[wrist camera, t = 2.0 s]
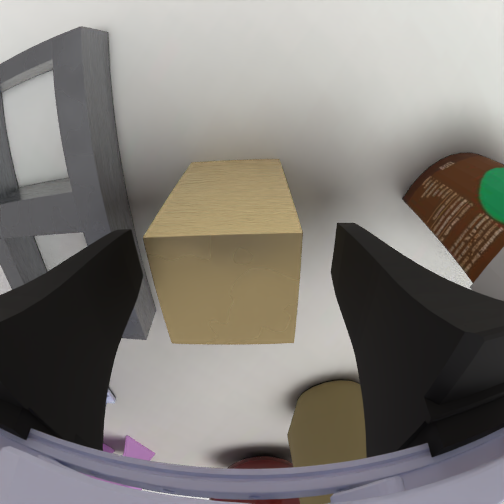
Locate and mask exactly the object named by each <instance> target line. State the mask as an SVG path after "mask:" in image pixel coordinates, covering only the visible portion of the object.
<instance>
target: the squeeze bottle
mask: <svg viewBox="0 0 504 504" xmlns="http://www.w3.org/2000/svg"><path fill="white" fill-rule="evenodd" d="M288 442H289V447H290V452H291V458H292V463H293V467H305V466H315V465H324V464H332V463H339V462H346V461H352V460H358V459H363V458H366V431H365V419H364V409H363V400H362V392H361V385H360V384H358V383H355V382H353V381H344V380H338V381H332V382H325V383H323V384H320V385H317V386H314V387H312V388H310V389H309V390H307V391H305V392H304V393H302V395H301V396H300V397H299V399H298V400H297V404H296V407H295V411H294V414H293V418H292V421H291V425H290V428H289V431H288ZM332 495H333V494H328V495H320V496H311V497H301V498H299V501H300V504H328V503H330V502H331V500H330V497H331V496H332Z"/></svg>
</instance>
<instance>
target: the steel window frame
mask: <svg viewBox="0 0 504 504" xmlns="http://www.w3.org/2000/svg"><path fill="white" fill-rule="evenodd" d="M50 70H53V75H54V87H55V97H56V106H57V114H58V121H59V127H60V134H61V140H62V145H63V151H64V156H65V161H66V166H67V171H68V175H69V178H65V179H59V180H54V181H49V182H44V183H39V184H34V185H29V186H24V187H20V188H18V184H17V181H16V177H15V172H14V168H13V164H12V159H11V155H10V150H9V144H8V139H7V133H6V127H5V120H4V113H3V105H2V96H1V93H2V92H4V91H6V90H8V89H10V88H12V87H14V86H16V85H18V84H20V83H22V82H24V81H26V80H29V79H31V78H33V77H35V76H38V75H40V74H43V73H45V72H48V71H50ZM122 229H131V230H132V234H133V238H134V242H135V246H136V250H137V254H138V258H139V261H140V265H141V269H142V272H143V279H142V283H141V287H140V291H139V295H138V298H137V301H136V303H135V306H134V308H133V311H132V313H131V316H130V318H129V321H128V323H127V325H126V328H125V330H124V333H123V335H122V338H127V339H142V340H146V339H147V336H148V333H149V330H150V327H151V324H152V321H153V318H154V315H155V312H156V309H155V305H154V302H153V299H152V295H151V292H150V288H149V285H148V281H147V278H146V274H145V270H144V267H143V263H142V259H141V255H140V251H139V247H138V243H137V239H136V235H135V230H134V226H133V222H132V217H131V212H130V208H129V203H128V198H127V193H126V188H125V182H124V177H123V171H122V166H121V160H120V153H119V147H118V140H117V133H116V126H115V118H114V109H113V100H112V90H111V79H110V65H109V46H108V32H105V31H101V30H96V29H92V28H87V27H82V26H81V27H78V28H76V29H73V30H70V31H68V32H65V33H63V34H60V35H58V36H56V37H53V38H51V39H49V40H47V41H44V42H42V43H40V44H38V45H36V46H34V47H32V48H30V49H28V50H26V51H24V52H22V53H20V54H18V55H16V56H14V57H12V58H11V59H9V60H7V61H5V62H3V63H2V64H0V264H1V267H2V269H3V271H4V273H5V275H6V278H7V280H8V282H9V284H10V286H11V288H12V290H13V289H15V288H17V287H19V286H22V285H24V284H26V283H28V282H30V281H32V280H34V279H35V278H37V277H39V276H41V275H43V274H44V273H46V272H47V270H46V268H45V265H44V263H43V260H42V258H41V255H40V253H39V250H38V247H37V245H36V242H35V239H34V236H37V235H50V234H63V233H78V232H83V233H84V236H85V239H86V242H87V246H89V245H90V244H92V243H94V242H95V241H97V240H98V239H100V238H102V237H103V236H105V235H107V234H109V233H111V232H113V231H115V230H122Z"/></svg>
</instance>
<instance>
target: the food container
mask: <svg viewBox="0 0 504 504" xmlns="http://www.w3.org/2000/svg"><path fill="white" fill-rule="evenodd" d="M403 200H404V201H405V203H406V204H407V205H408V206H409V207H410V208H411V209H412V210H413V211H414V212H415V213H416V214H417V215H418V216H419V218H420V219H421V220H422V221H423V222H424V223H425V224H426V225H427V227H428V228H429V229H430V230H431V231H432V232H433V233H434V235H435V236H436V237H437V238H438V239H439V240H440V242H441V243H442V244H443V245H444V246H445V248H446V249H447V250H448V251H449V253H450V254H451V255H452V256H453V258H454V259H455V260H456V261H457V263H458V264H459V265H460V266H461V268H462V269H463V270H464V272H465V273H466V274H467V276H468V277H469V278H470V280H471V281H472V282H473V284H472V285H471V286H470V288H471V289H472V290H473V291H475V292H478V293H480V294H483V295H486V296H489V297H492V298H495V299H498V300H502V301H504V165H503V164H501V163H499V162H496V161H494V160H491V159H489V158H486V157H484V156H481V155H479V154H474V153H458V154H453V155H450V156H448V157H445V158H443V159H441V160H439V161H438V162H436V163H435V164H433V165H432V166H430V167H429V168H428V169H427V170H426V171H425V172H423V173H422V174H421V175H420V176H419V177H418V178H417V180H416V181H415V182H414V183H413V184H412V185H411V187H410V188H409V190H408V191H407V193H406V194H405V196H404V197H403Z"/></svg>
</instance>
